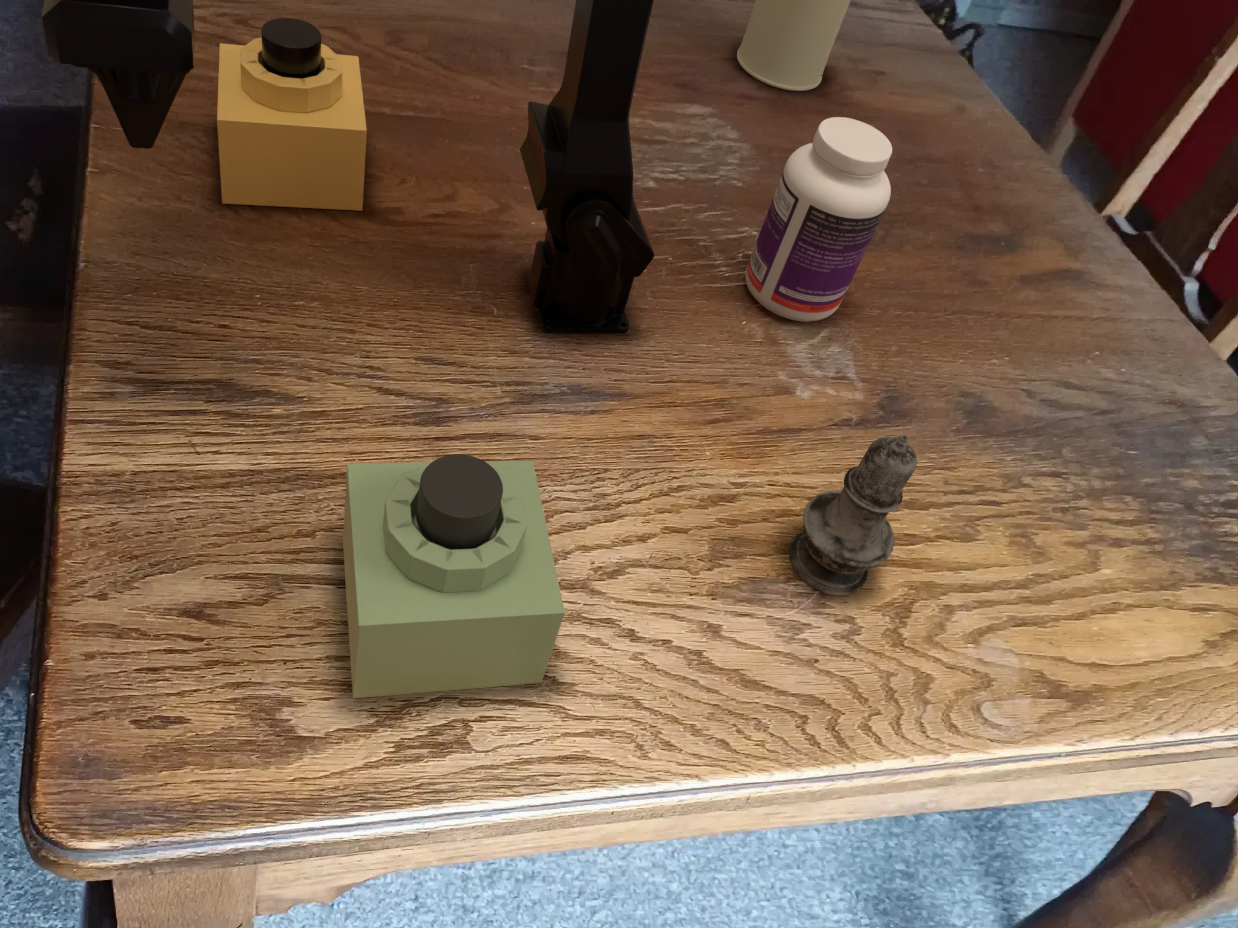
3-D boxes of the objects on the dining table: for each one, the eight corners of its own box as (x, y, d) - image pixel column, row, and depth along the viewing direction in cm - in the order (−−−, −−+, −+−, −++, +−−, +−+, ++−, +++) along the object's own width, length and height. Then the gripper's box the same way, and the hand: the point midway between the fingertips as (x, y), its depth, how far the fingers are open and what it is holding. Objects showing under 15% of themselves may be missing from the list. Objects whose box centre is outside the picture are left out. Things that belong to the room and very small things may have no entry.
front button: (490, 485, 56) (497, 453, 54) (501, 547, 53) (508, 516, 51) (412, 487, 54) (416, 454, 53) (419, 551, 52) (424, 519, 50)
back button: (319, 54, 79) (320, 21, 77) (321, 83, 76) (322, 50, 74) (262, 48, 78) (261, 15, 76) (262, 78, 75) (261, 44, 73)
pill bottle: (855, 304, 88) (931, 152, 77) (799, 342, 83) (872, 185, 72) (779, 249, 90) (843, 96, 80) (721, 283, 86) (780, 124, 75)
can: (725, 40, 113) (761, -75, 105) (803, 47, 116) (844, -64, 108) (752, 88, 108) (792, -30, 99) (833, 94, 111) (879, -19, 102)
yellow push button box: (354, 135, 88) (359, 31, 81) (362, 211, 82) (368, 105, 75) (224, 126, 85) (218, 17, 78) (222, 203, 79) (215, 93, 72)
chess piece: (870, 611, 67) (956, 489, 58) (780, 583, 67) (853, 457, 58) (873, 539, 71) (954, 416, 62) (788, 514, 71) (857, 386, 62)
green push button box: (514, 535, 65) (538, 435, 58) (541, 683, 59) (572, 590, 52) (342, 542, 62) (348, 437, 55) (352, 698, 56) (360, 601, 49)
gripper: (-57, -309, 52) (4, 0, 64) (-135, -150, 41) (-44, 192, 52) (190, -265, 56) (205, 20, 67) (181, -107, 44) (202, 204, 56)
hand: (145, 99), depth 60 cm, fingers open, 9 cm apart
